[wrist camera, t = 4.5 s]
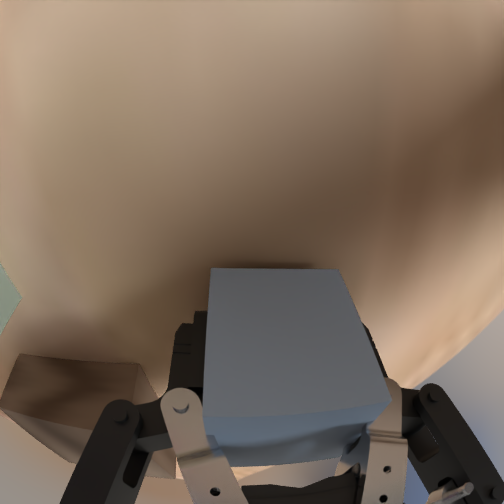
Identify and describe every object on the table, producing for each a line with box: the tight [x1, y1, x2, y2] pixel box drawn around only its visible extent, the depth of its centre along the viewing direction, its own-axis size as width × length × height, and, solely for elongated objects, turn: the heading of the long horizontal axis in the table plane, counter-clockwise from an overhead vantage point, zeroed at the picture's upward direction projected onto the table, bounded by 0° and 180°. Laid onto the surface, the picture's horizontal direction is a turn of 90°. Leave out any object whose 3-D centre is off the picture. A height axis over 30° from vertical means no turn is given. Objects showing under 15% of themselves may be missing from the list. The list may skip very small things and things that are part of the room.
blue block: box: [202, 268, 392, 467], centre depth 10 cm, size 5×5×6 cm
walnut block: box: [0, 354, 176, 479], centre depth 17 cm, size 10×10×5 cm
